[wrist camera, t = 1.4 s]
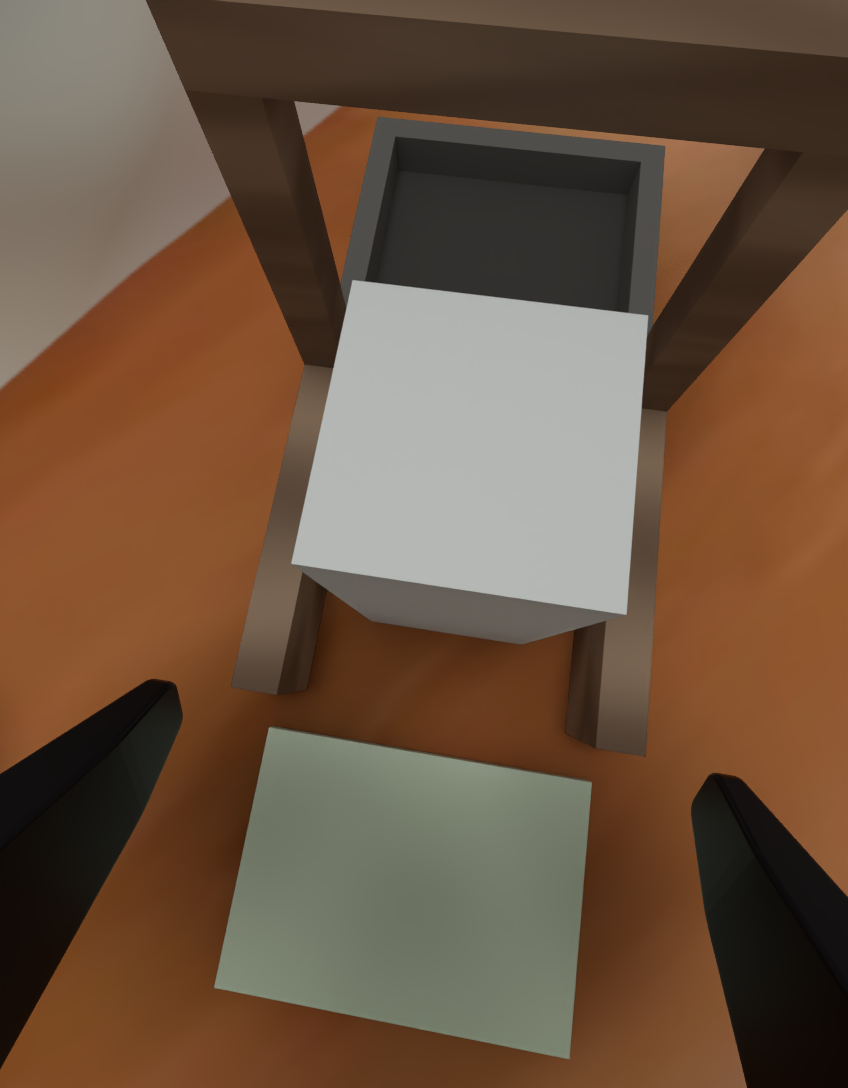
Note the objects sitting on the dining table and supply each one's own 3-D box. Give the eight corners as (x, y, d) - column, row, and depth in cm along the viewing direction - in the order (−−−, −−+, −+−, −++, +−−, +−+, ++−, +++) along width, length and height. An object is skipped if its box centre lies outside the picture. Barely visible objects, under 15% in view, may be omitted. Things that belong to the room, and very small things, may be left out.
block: (521, 644, 21) (626, 614, 9) (371, 621, 21) (291, 563, 10) (537, 500, 22) (648, 315, 11) (396, 480, 23) (352, 280, 11)
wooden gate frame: (605, 739, 20) (1051, 930, 5) (269, 683, 21) (-125, 719, 6) (629, 423, 23) (966, -5, 8) (333, 384, 24) (167, -71, 9)
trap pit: (632, 391, 23) (649, 366, 21) (339, 354, 24) (330, 326, 22) (647, 185, 26) (665, 145, 24) (381, 157, 26) (377, 117, 25)
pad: (565, 1048, 18) (569, 1059, 17) (220, 979, 19) (214, 987, 18) (588, 779, 20) (591, 782, 19) (273, 725, 20) (268, 727, 20)
